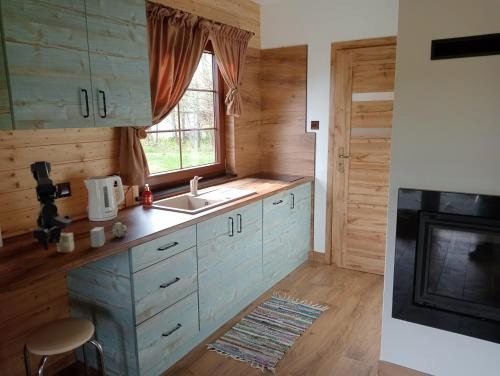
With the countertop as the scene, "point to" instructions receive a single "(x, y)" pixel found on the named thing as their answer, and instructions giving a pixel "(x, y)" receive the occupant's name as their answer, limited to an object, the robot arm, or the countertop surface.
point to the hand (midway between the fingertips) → (52, 246)
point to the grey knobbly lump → (119, 229)
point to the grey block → (97, 236)
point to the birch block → (66, 243)
